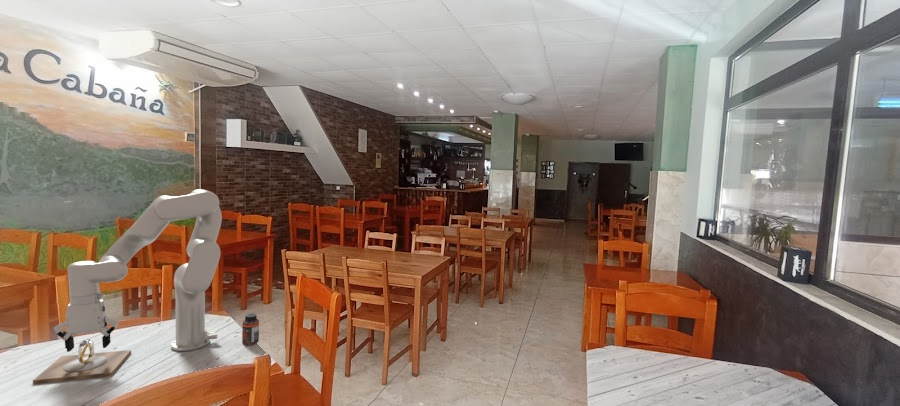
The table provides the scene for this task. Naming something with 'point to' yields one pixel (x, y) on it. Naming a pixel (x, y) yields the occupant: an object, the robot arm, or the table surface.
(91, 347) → the bracelet
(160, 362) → the table surface
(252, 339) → the supplement bottle
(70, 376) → the walnut board
